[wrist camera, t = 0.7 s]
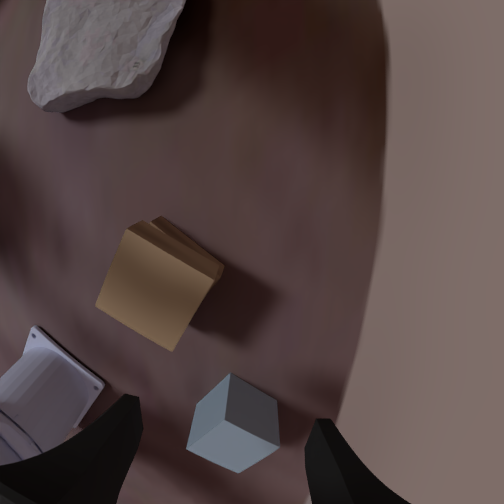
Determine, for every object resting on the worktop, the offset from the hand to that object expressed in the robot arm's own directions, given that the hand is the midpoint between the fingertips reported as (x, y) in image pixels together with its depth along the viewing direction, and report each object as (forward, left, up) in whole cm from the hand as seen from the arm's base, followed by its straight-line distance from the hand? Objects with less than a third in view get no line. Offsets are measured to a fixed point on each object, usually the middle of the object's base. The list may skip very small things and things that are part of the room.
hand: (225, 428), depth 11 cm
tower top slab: (0, +6, -8) cm, 9 cm away
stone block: (+11, +19, -10) cm, 24 cm away
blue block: (-6, -5, -10) cm, 12 cm away
